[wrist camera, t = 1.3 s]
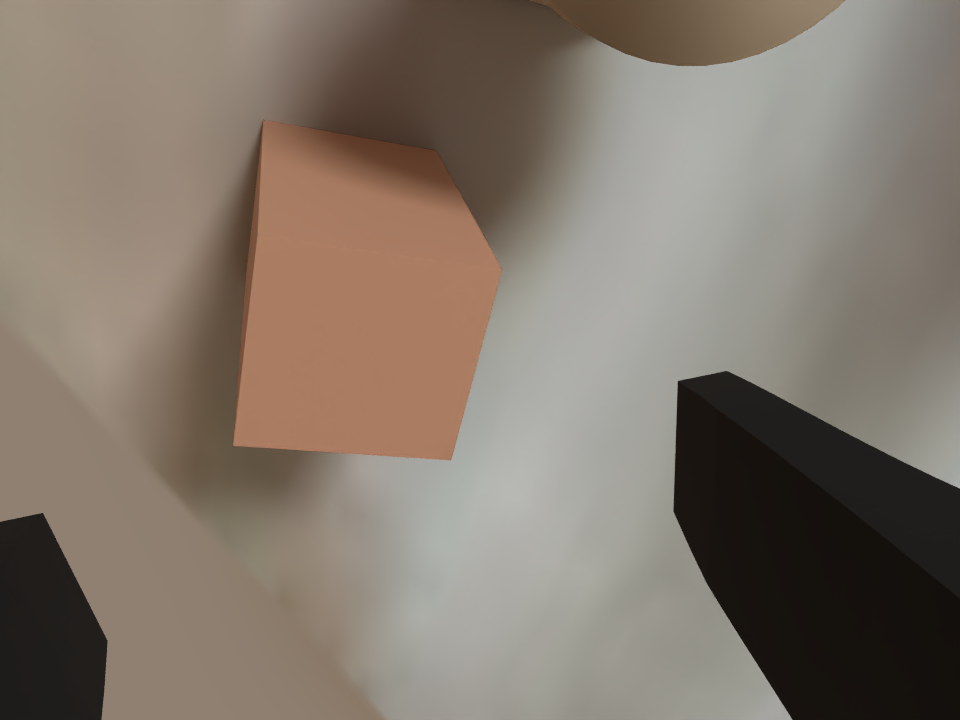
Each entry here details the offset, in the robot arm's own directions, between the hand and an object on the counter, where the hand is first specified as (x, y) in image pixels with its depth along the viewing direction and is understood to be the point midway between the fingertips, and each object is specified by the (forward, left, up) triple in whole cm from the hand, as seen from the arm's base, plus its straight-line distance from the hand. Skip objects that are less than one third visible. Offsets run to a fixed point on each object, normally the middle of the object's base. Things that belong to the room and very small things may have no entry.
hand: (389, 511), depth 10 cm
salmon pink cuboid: (0, 0, -10) cm, 10 cm away
